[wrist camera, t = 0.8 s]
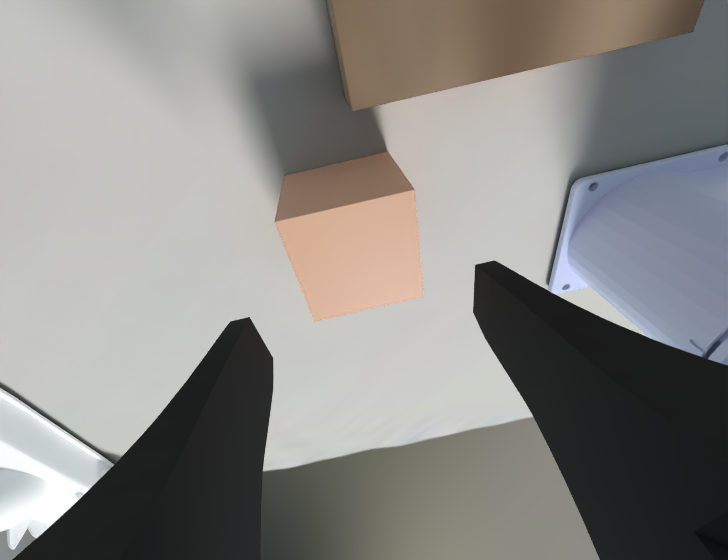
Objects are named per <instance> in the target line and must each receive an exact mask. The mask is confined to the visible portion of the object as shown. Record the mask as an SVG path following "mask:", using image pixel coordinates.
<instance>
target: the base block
mask: <svg viewBox="0 0 728 560" xmlns="http://www.w3.org/2000/svg"><path fill="white" fill-rule="evenodd" d="M326 3H327V8H328V13H329V19H330V24H331V29H332V34H333V39H334V44H335V49H336V55H337V60H338V65H339V70H340V75H341V80H342V85H343V91H344V96H345V100H346V101H347V103H348V105H349V106H350V108H351V110H352V111H356V110H360V109H365V108H369V107H373V106H377V105H382V104H386V103H390V102H395V101H399V100H403V99H407V98H412V97H416V96H420V95H425V94H429V93H433V92H437V91H442V90H446V89H450V88H454V87H459V86H463V85H467V84H472V83H476V82H480V81H484V80H489V79H493V78H497V77H502V76H506V75H510V74H514V73H519V72H523V71H527V70H532V69H536V68H540V67H544V66H549V65H553V64H557V63H561V62H566V61H570V60H574V59H579V58H583V57H587V56H591V55H596V54H600V53H604V52H609V51H613V50H617V49H621V48H626V47H630V46H634V45H639V44H643V43H647V42H651V41H656V40H660V39H664V38H668V37H673V36H677V35H681V34H686V33H690V32H693V30H694V28H695V25H696V22H697V19H698V17H699V14H700V11H701V8H702V6H703V3H704V0H326Z"/></svg>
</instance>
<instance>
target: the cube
mask: <svg viewBox="0 0 728 560" xmlns="http://www.w3.org/2000/svg"><path fill="white" fill-rule="evenodd" d="M275 225H276V227H277V230H278V232H279V235H280V237H281V240H282V242H283V245H284V247H285V250H286V252H287V255H288V257H289V260H290V262H291V265H292V267H293V270H294V272H295V275H296V277H297V280H298V282H299V285H300V287H301V290H302V292H303V295H304V297H305V300H306V302H307V305H308V307H309V310H310V312H311V315H312V317H313V319H314V322H315V321H319V320H324V319H328V318H332V317H337V316H341V315H345V314H350V313H354V312H359V311H363V310H367V309H372V308H376V307H380V306H385V305H389V304H394V303H398V302H402V301H407V300H411V299H416V298H420V297H424V290H423V278H422V267H421V256H420V245H419V233H418V222H417V211H416V199H415V190H414V188H413V187H412V185H411V184H410V182H409V181H408V180H407V178H406V177H405V175H404V174H403V172H402V171H401V170H400V168H399V167H398V165H397V164H396V163H395V161H394V160H393V158H392V157H391V155H390V154H389V153H388V152H383V153H379V154H375V155H370V156H366V157H362V158H357V159H353V160H349V161H345V162H340V163H336V164H332V165H327V166H323V167H319V168H314V169H310V170H306V171H302V172H297V173H293V174H289V175H284V180H283V185H282V189H281V194H280V199H279V203H278V208H277V213H276V217H275Z"/></svg>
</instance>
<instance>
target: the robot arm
mask: <svg viewBox="0 0 728 560" xmlns="http://www.w3.org/2000/svg"><path fill="white" fill-rule="evenodd" d="M592 183H593V185H592V186H591V187H590V185H591V184H592ZM589 187H590V188H589ZM586 287H591V288H592V289H593V290H594V291H596V292H597V293H598V294H599V295H600V296H601V297H602V298H604V299H605V300H606V301H607V302H608V303H609V304H611V305H612V306H613V307H614V308H615V309H616V310H617V311H619V312H620V313H621V314H622V315H623V316H624V317H625V318H627V319H628V320H629V321H630V322H631V323H632V324H633V325H635V326H636V327H637V328H638V329H639V330H640V331H641V332H643V333H644V334H645V335H646V336H647V337H646V336H643V335H641V334H639V333H636V332H634V331H631V330H629V329H626V328H624V327H622V326H619V325H617V324H615V323H612V322H610V321H608V320H606V319H603V318H601V317H599V316H597V315H595V314H593V313H591V312H589V311H587V310H585V309H582V308H580V307H578V306H576V305H574V304H572V303H570V302H568V301H567V300H565V299H563V298H561V297H559V296H557V295H555V294H560V293H564V292H568V291H573V290H577V289H581V288H586ZM548 290H549V291H548ZM548 290H546V289H544V288H542V287H540V286H539V285H537V284H535V283H533V282H532V281H530V280H528V279H526V278H525V277H523V276H521V275H519V274H518V273H516V272H514V271H512V270H511V269H509V268H507V267H505V266H504V265H502V264H500V263H498V262H496V261H490V262H486V263H482V264H477V265H475V283H474V307H473V313H474V315H475V317H476V319H477V322H478V324H479V326H480V328H481V330H482V332H483V334H484V337H485V339H486V340H487V342H488V344H489V345H490V347H491V349H492V350H493V352H494V353H495V355H496V357H497V358H498V360H499V361H500V363H501V364H502V366H503V368H504V369H505V371H506V372H507V374H508V376H509V377H510V379H511V380H512V382H513V383H514V385H515V387H516V388H517V390H518V391H519V393H520V394H521V396H522V398H523V399H524V401H525V403H526V404H527V406H528V408H529V409H530V411H531V413H532V415H533V417H534V418H535V421H536V422H537V424H538V426H539V428H540V430H541V432H542V434H543V436H544V438H545V440H546V442H547V444H548V446H549V448H550V450H551V452H552V454H553V457H554V458H555V461H556V463H557V464H558V467H559V469H560V471H561V473H562V475H563V477H564V479H565V482H566V484H567V486H568V488H569V490H570V492H571V495H572V497H573V499H574V501H575V504H576V506H577V508H578V510H579V512H580V514H581V517H582V519H583V521H584V523H585V525H586V528H587V530H588V533H589V535H590V537H591V540H592V542H593V545H594V547H595V549H596V552H597V554H598V556H599V558H600V560H728V144H726V145H722V146H717V147H713V148H709V149H704V150H700V151H696V152H691V153H687V154H683V155H678V156H674V157H670V158H665V159H661V160H657V161H652V162H648V163H644V164H639V165H635V166H631V167H626V168H622V169H618V170H613V171H609V172H605V173H600V174H596V175H592V176H587V177H583V178H580V179H578V180H577V181H576V182H575V183H574V184H573V185H572V187H571V191H570V195H569V199H568V204H567V208H566V212H565V217H564V221H563V226H562V230H561V234H560V239H559V243H558V247H557V252H556V256H555V260H554V265H553V269H552V273H551V278H550V282H549V286H548ZM272 394H273V357H272V355H271V354H270V352H269V350H268V348H267V347H266V345H265V343H264V342H263V340H262V338H261V336H260V335H259V333H258V331H257V329H256V328H255V326H254V324H253V322H252V321H251V319H250V317H248V318H244V319H239V320H235V321H231V322H230V323H229V324H228V325H227V327H226V328H225V329H224V331H223V332H222V333H221V335H220V336H219V338H218V339H217V340H216V342H215V343H214V344H213V346H212V347H211V349H210V350H209V351H208V353H207V354H206V356H205V357H204V358H203V360H202V361H201V362H200V364H199V365H198V366H197V368H196V369H195V371H194V372H193V373H192V375H191V376H190V377H189V379H188V380H187V381H186V383H185V384H184V385H183V386H182V388H181V389H180V390H179V391H178V393H177V394H176V395H175V396H174V398H173V399H172V400H171V401H170V403H169V404H168V405H167V406H166V408H165V409H164V410H163V411H162V413H161V414H160V415H159V416H158V417H157V419H156V420H155V421H154V422H153V423H152V424H151V425H150V427H149V428H148V429H147V430H146V431H145V432H144V433H143V435H142V436H141V437H140V438H139V439H138V440H137V441H136V442H135V443H134V444H133V445H132V447H131V448H130V449H129V450H128V451H127V452H126V453H125V454H124V455H123V456H122V457H121V458H120V459H119V460H118V461H117V462H116V463H115V464H114V465H113V466H112V467H111V468H110V469H109V470H108V471H107V472H106V473H105V474H104V475H103V476H102V477H101V478H100V479H99V480H98V481H97V482H96V483H95V484H94V485H93V486H92V487H91V488H90V489H89V490H88V491H87V492H86V493H85V494H84V495H83V496H82V497H81V498H80V499H79V500H78V501H77V502H76V503H75V504H74V505H73V506H72V507H71V508H70V509H68V510H67V511H66V512H65V513H64V514H63V515H62V516H61V517H60V518H59V519H58V520H56V521H55V522H54V523H53V524H52V525H51V526H50V527H49V528H48V529H47V530H46V531H44V532H43V533H42V534H41V535H40V536H39V537H38V538H36V539H35V540H34V541H33V542H32V543H31V544H30V545H29V546H27V547H26V548H25V549H24V550H23V551H22V552H21V553H20V554H18V555H17V556H16V557H15V558H14V559H13V560H260V535H261V533H260V532H261V495H262V473H263V462H264V454H265V447H266V439H267V432H268V425H269V417H270V410H271V402H272Z"/></svg>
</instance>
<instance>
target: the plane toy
mask: <svg viewBox="0 0 728 560" xmlns="http://www.w3.org/2000/svg"><path fill="white" fill-rule="evenodd" d="M113 465H114V464H113V463H111V462H110V461H109V460H107V459H106V458H104V457H103V456H101V455H100V454H98V453H97V452H96V451H94V450H93V449H91V448H90V447H88V446H87V445H85V444H84V443H82V442H81V441H79V440H78V439H76V438H75V437H73V436H72V435H70V434H69V433H67V432H66V431H64V430H63V429H61V428H60V427H58V426H57V425H56V424H54V423H53V422H51V421H50V420H48V419H47V418H45V417H44V416H42V415H41V414H39V413H38V412H36V411H35V410H33V409H32V408H30V407H29V406H27V405H26V404H24V403H23V402H22V401H20V400H19V399H17V398H16V397H14V396H13V395H11V394H9V393H8V392H6V391H4V390H3V389H1V388H0V532H1V531H4V530H7V541H8V545H9V547H10V548H11V549H15V548H16V546H17V544H18V543H19V541H20V539H21V538H22V536H23V535H24V533H25V531H26V530H27V528H28V530H29V531H30V533H31V535H32V536H34V537H35V538H38V537H39V536H40V535H41V534H42V533H43V532H44V531H46V530H47V529H48V528H49V527H50V526H51V525H52V524H53V523H54V522H55V521H56V520H58V519H59V518H60V517H61V516H62V515H63V514H64V513H65V512H66V511H67V510H68V509H70V508H71V507H72V506H73V505H74V504H75V503H76V502H77V501H78V500H79V499H80V498H81V497H82V496H83V495H84V494H85V493H86V492H87V491H88V490H89V489H90V488H91V487H92V486H93V485H94V484H95V483H96V482H97V481H98V480H99V479H100V478H101V477H102V476H103V475H104V474H105V473H106V472H107V471H108V470H109V469H110V468H111V467H112V466H113Z"/></svg>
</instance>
